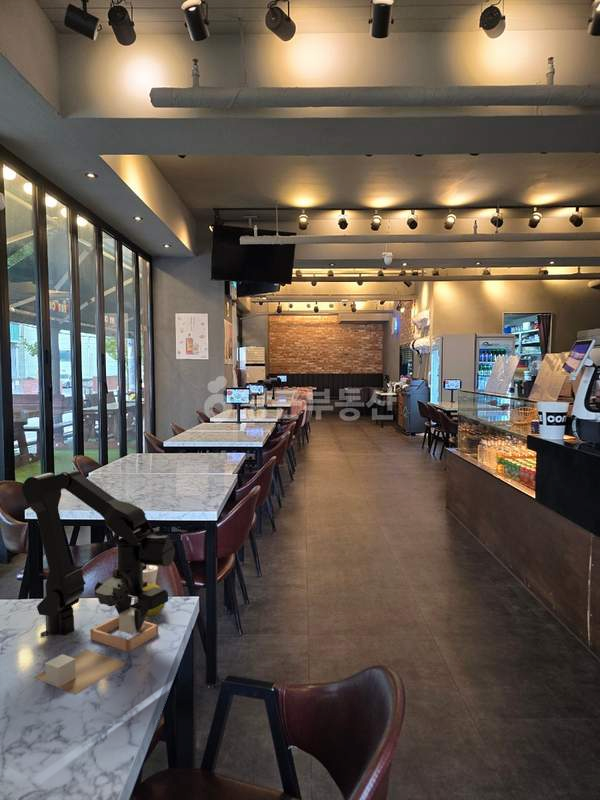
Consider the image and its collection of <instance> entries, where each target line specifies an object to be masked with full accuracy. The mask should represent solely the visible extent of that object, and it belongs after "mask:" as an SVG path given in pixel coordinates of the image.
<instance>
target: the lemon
mask: <svg viewBox="0 0 600 800" xmlns="http://www.w3.org/2000/svg"><path fill="white" fill-rule="evenodd" d="M153 587H157V588H161V587H160V586H159V585H158V584H156V585H155V584H147V586H146V587H144V588H143V590H144V591H147V590H149V589H151V588H153ZM133 600H134V601H133V604H135V603H136V600H137V598H134V599H133ZM165 605H166V603H164V604H162V605H160V606H158V607H156V608H154V609H151V610H149V611H148V613H147V615H146V618H148V617H151V618H152V617H154V616H156V615H158V614H159V613H161V611H162V610H163V609H164V607H165Z"/></svg>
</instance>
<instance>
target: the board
mask: <svg viewBox="0 0 600 800" xmlns="http://www.w3.org/2000/svg"><path fill="white" fill-rule="evenodd" d="M71 657H72V658H74V659H75V668H76V678H75V679H73V680H71V681H69V682H68V683H66V684H64V685H62V686H61V687H59V688H58V689H61V690H62V691H65V692H68V693H70V694H72V695H74V696H75V695H78V694H80V693H82V692H83V691H84V690H86V689H88V688H89V687H91V686H92V685H94V684H96V683H97V682H99V681H101V680H102V679H104V678H106V677H107V676H109V675H110V674H112V673H114V672H116V671H117V670H119V669H121V668H123V667H124V666H126V665H128V663H127V662H123V661H121V660H118V659H115V658H113V657H111V656H107V655H103V654H100V653H98V652H95V651H93V650H90V649H84V650H82V651H81V652H79V653H77V654H74V655H73V656H71ZM33 678H34V679H37V680H38V681H41V682H44V683H46V672H45V670H44V671H42V672H41V673H39V674H37V675H35V676H33ZM47 684H49V683H47ZM49 685H50V686H52V685H51V684H49ZM54 687H56V686H54ZM56 688H57V687H56Z"/></svg>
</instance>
